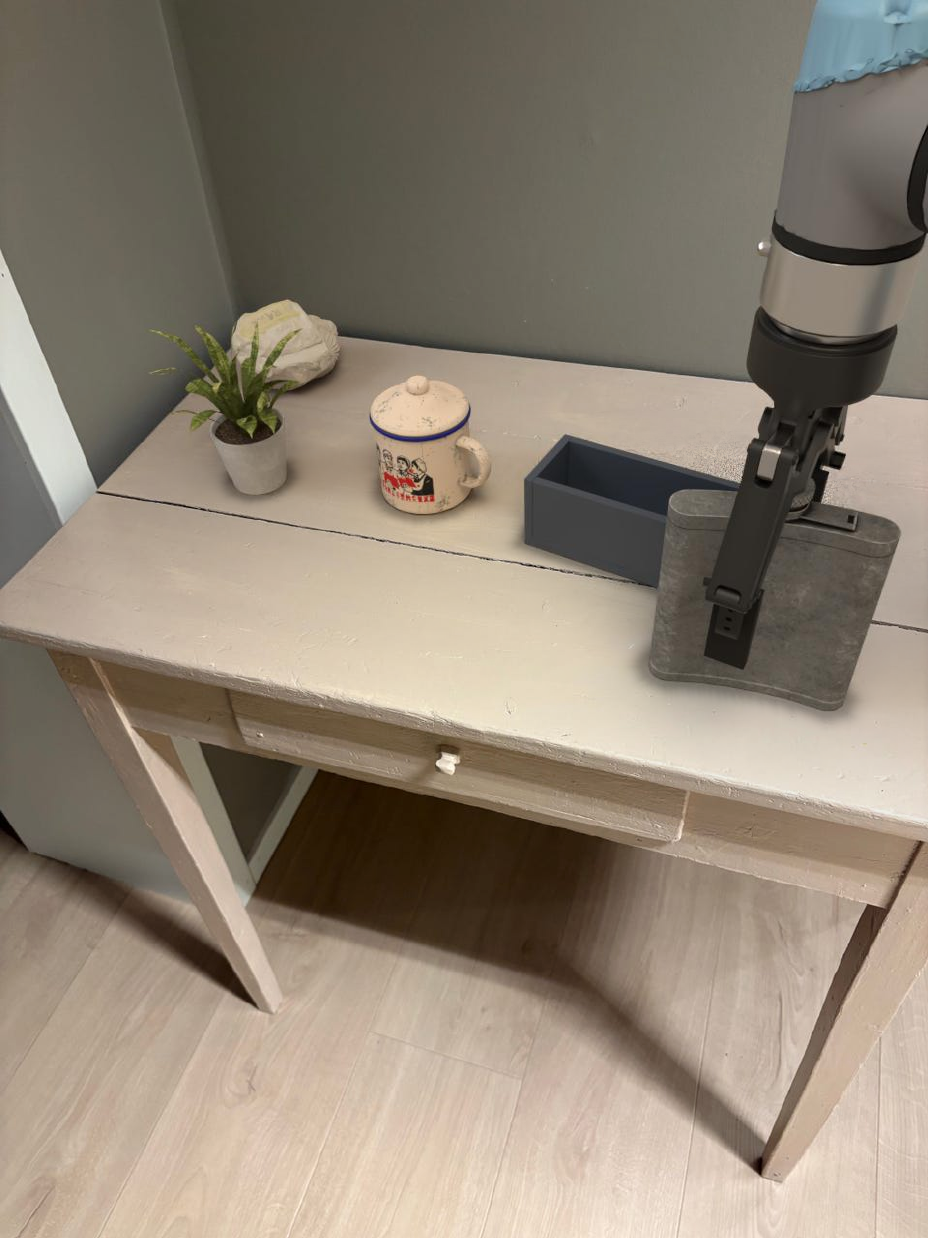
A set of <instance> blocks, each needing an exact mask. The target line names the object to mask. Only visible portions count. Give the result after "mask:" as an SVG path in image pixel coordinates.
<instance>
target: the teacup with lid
mask: <svg viewBox="0 0 928 1238" xmlns="http://www.w3.org/2000/svg"><path fill="white" fill-rule="evenodd" d="M471 413H472V407H471V404H470V402H469V400H468V397H467V396H466V395H465V394H464V392H463V391H462V390H460V389H459V388H458V387H456V386H455V385H452V384H450V383H448V382H445V381H439V380H433V379H428V378H427V377H425V376H423V375H413V376H410V377H409V378H408V379H407V380H406V381H404V382H401V383H398V384H394V385H392V386H390V387H389V388H387V389H385V390H383V391H382V392H381V393H380V394H379V395H377V396H376V397H375V399H374V400H373V402H372V404H371V406H370V410H369V422H370V424H371V426H372V427H373V433H374V434H373V435H374V441H375V442H374V443H375V448H376V456H377V463H378V472H379V479H380V485H381V491H382V495H383V497H384V499H385V500H386V501H387V502H388V504H389V505H391V506H392V507H394V508H396V509H398V510H400V511H401V512H405V513H408V514H409V513H410V514H414V515H415V514H416V515H431V514H437V513H441V512H442V513H443V512H445V511H448V510H451V509H453V508H455V507H456V506H458V505H460V504H461V503H462V502H464V500H465V499H466V498H467V497H468V495H470V493H471V490H472V489H473V488H478V487H481V485H483V484H484V483H485V482H486V481H487V480H488V479H489V477H490V475H491V472H492V459H491V457H490V454H489V452H488V450H487V449H486V447H484V445H482V443H481V442H479V441H478V440H476V439H473V438H472V437H470V421H469V419H470V417H471ZM471 454H472V455H473V456H474V457H475V459H476V460H477V462H478V465H479V473H478V476H473V475H472V460H471V459H472V458H471V457H472V456H471Z"/></svg>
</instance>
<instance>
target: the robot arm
mask: <svg viewBox="0 0 928 1238" xmlns="http://www.w3.org/2000/svg"><path fill="white" fill-rule="evenodd" d="M804 46H805V47H804V51H803V55H802V59H801V64H800V68H799V73H798V76H797V78H796V79H795V81H794V83H793V86H792V90H791V91H792V93H793V96H792V97H793V98H792V103H791V111H790V117H789V123H788V132H787V139H786V146H785V152H784V161H783V165H782V166H783V167H782V174H781V179H780V180H781V181H780V186H779V192H778V197H777V198H778V199H777V205H776V209H774V210H773V219H772V224H771V232H770V236H769V237H763V238H761V240H760V242H759V243H758V244H757V246H756V247H757V248H756V251H757V254H758V255H759V256H760V257H764V258H767V259H766V265H765V266H764V269H763V273H762V278H761V284H760V289H759V296H758V297H759V298H758V299H759V303H760V306H759V307H757V309H756V311H755V313H754V317H753V322H752V328H751V333H750V339H749V344H748V350H747V356H746V363H745V364H746V365H745V366H746V370H747V374H748V376H749V378H750V379H751V381H752V382H753V383H754V385H756V387H758V389H760V390H762V391H763V392H764V393H765V394H766V395H767V396H768V397H770V399H771V400H772V401H773V407H771V406H766V407H764V410H763V412H762V414H761V417H760V420H759V423H758V426H757V433H758V437H753V438H752V439H751V442H749V443H748V445H747V447H746V453H747V454H746V458H745V463H744V467H743V470H742V475H741V479H740V482H739V483H740V486H739V489H738V492H737V496H736V499H735V502H734V505H733V509H732V512H731V515H730V518H729V522H728V525H727V528H726V531H725V535H724V538H723V541H722V544H721V548H720V551H719V554H718V557H717V561H716V564H715V567H714V570H713V574H712V577H711V578H709V577H704V580H703V587H706V588H707V589H706V592H705V594H706V595H705V601H708V602H711V603H714V604H713V609H712V614H711V619H710V624H709V630H708V635H707V640H706V645H705V650H704V655H703V656H706V657H709V658H711V659H714V660H717V661H720V662H722V663H725V664H728V665H730V666H733V667H736V668H739V669H741V670H744V668H745V666H746V664H747V661H748V657H749V653H750V649H751V645H752V640H753V636H754V632H755V628H756V624H757V620H758V616H759V612H760V607H761V603H762V599H763V595H764V591H765V590H764V589H761V586H762V583H763V581H764V578H765V575H766V572H767V570H768V567H769V564H770V562H771V559H772V556H773V553H774V551H775V548H776V545H777V542H778V540H779V537H780V534H781V532H782V529H783V526H784V523H785V521H786V518H787V515H788V513H789V510H790V507H791V504H792V502H793V499H794V497H795V496H796V495H798V494H802V493H803V492H805V490H806V489H807V486H808V484H809V481H810V478H812V479H813V481H814V482H815V491H814V495H813V498H812V499H811V501H814V502H819V503H822V501H823V497H824V494H825V490H826V487H827V483H828V480H829V476H830V471H829V470H825V469H823V468H824V467H827V468H829V469H833V470H837V471H841V470H842V468H843V465H844V462H845V459H846V456H847V453H846V452H841V451H838V450H836V446H837V447H839V446H840V444H841V443H842V442H844V439H845V436H846V434H844V433H845V429H846V422H847V418H848V417H847V415H848V409H849V406H852V405H854V404H859V403H860V402H862V401H865V400H866V399H868V398H870V397H872V396H873V395H874V394H875V393H876V392H877V391H878V390H879V389H880V388H881V386H882V384H883V382H884V380H885V376H886V373H887V369H888V366H889V363H890V360H891V356H892V353H893V350H894V347H895V343H896V340H897V336H898V330H899V329H898V323H899V322H900V321H901V320H902V319H903V317H904V315H905V313H906V310H907V306H908V304H909V300H910V296H911V294H912V291H913V287H914V283H915V280H916V277H917V274H918V270H919V266H920V264H921V263H920V262H921V261H922V257H923V254H924V250H925V247H926V238H927V234H928V0H817V1H816V3H815V6H814V8H813V14H812V17H811V20H810V26H809V29H808V33H807V37H806V42H805V45H804ZM794 471H799V472H800V474H799V476H797V477H795V478H792V475H793V473H794Z"/></svg>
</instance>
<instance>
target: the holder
mask: <svg viewBox="0 0 928 1238" xmlns="http://www.w3.org/2000/svg"><path fill="white" fill-rule="evenodd" d="M740 483H741V482H737V481H734V480H731V479H727V478H724V477H720V476H716V475H713V474H710V473H705V472H702V471H698V470H695V469H692V468H687V467H684V466H681V465H677V464H673V463H670V462H666V461H663V460H659V459H656V458H652V457H649V456H644V455H641V454H638V453H634V452H630V451H627V450H624V449H620V448H616V447H612V446H609V445H606V444H601V443H598V442H595V441H591V440H588V439H584V438H580V437H577V436H573V435H571V434H567V433H564V434H563V435H562V437H561V438H560V439H559V440H558V441H557V442H556V443H555V444H554V445H553V447H551V449H550V450H549V451H548V452H547V453H546V454H545V455H544V457H542V459H541V460H540V461H539V462H538V463H537V464H536V465H535V466H534V467H533V468H532V469H531V471H530V472H529V473H528V474H527V475H526V476H525V477H524V478H523V501H524V503H523V508H524V509H523V514H524V515H523V517H524V519H523V520H524V521H523V523H524V525H523V526H524V529H523V530H524V544H526V545H529V546H532V547H535V548H538V549H541V550H543V551H546V552H549V553H552V554H556V555H557V556H561V557H564V558H567V559H570V560H573V561H576V562H579V563H582V564H585V565H587V566H590V567H593V568H596V569H600V570H602V571H605V572H609V573H612V574H614V575H618V576H620V577H623V578H627V579H630V580H632V581H636V582H638V583H641V584H645V585H647V586H650V587H653V588H657V589H658V586H659V578H660V570H661V561H662V553H663V545H664V537H665V529H666V521H667V513H668V505H669V499H670V497H671V496H672V495H673V494H674V493H676V492H678V491H681V490H719V491H734V492H738V489H739V486H740Z"/></svg>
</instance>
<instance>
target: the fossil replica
mask: <svg viewBox="0 0 928 1238" xmlns="http://www.w3.org/2000/svg"><path fill="white" fill-rule="evenodd" d="M236 321H237V322H236V325H235V329H234V331H233V336H232V350H233V352H234V355H236V354H237V353H238V352H239V351H240V349H241V348H242V347H243V349H242V350H241V351H240V352H239V353H238V354H237V356H236V359H237V360H238V363H239V364H240V365H241V364H242V362H243V361H244V360H245V359H246V358H250V356H251V347H252V340H253V337H254V332H255V326H256V323H257V322H258V330H259V349H258V356H257V361H256V368H255V376H256V375H257V374H259V373H260V372H261V371H262V368H263V366H264V364H265V362H266V360H267V358H268V357H269V355H270V354H271V352H272V351H273V350H274V348H275V347H276V346H277V344H278V343H279V342H280V341H281V340H282V339H283V338H284V337H285V336H286V335H288V334H289V333H291V332H293V331H296V330H298V329H302V328H304V329H302V330H300V331H299V332H298V333H297V334H296V335H295V336H293V337H292V338H291V339H290V340H289V341H288V342H287V343H286V345H285V347H284V349H283V351H282V353H281V354H280V356H279V357H278V358H277V360H276V361H275V362H274V364H273V365H274V366H276V367H275V368H270V370H269V372H268V374H267V376H266V379H265V381H264V383H263V384H265V383H267V382H270V381H274V380H282V379H288V380H293V381H299V383H302V384H296V385H294V386H292V387H291V388H289V389H288V390H287V391H293V390H295V389H296V388H301V387H302V386H305V385H306V384H307V383H309V382H311V381H313V380H317V379H318V378H323V377H324V376H326V375H328V374H329V372H331V371H332V370H333V369H334V368H335V366H336V362H337V361H338V360H339V356H340V353H341V352H340V349H341V346H340V345H339V340H338V339H339V337H338V336H339V332H338V327H337V326H336V324H335V323H334V322H333V321H331V320H328V319H323V318H322V319H321V318H320V317H319V316H318V315H313V314H307V313H306V312H305V311H304V310H303V308H302V306H301V305H300V304H299V303H297V302H296V301H292V300H290V299H284V300H280V301H277V302H274V303H270V304H269V305H266V306H263V307H261V308H259V309H258V310H257V311H253V312H245V313H243V314H242V315H241V316H240V317H239V318H238V319H237V320H236ZM288 382H292V381H287V382H282V383H278V384H276V385H274V386H273V387H272V388H271V389H274V390H279V389H280V388H281V387H282V386H283V385H284V384H286V383H288Z"/></svg>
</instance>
